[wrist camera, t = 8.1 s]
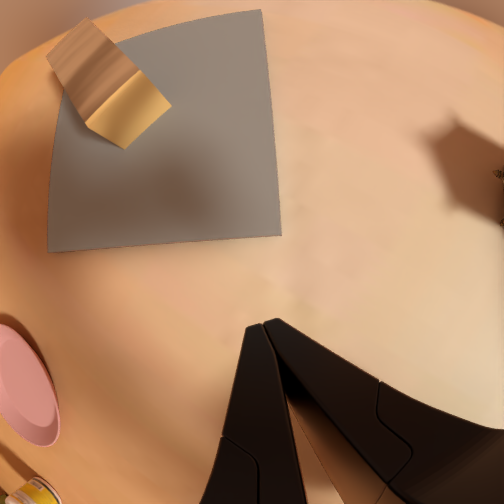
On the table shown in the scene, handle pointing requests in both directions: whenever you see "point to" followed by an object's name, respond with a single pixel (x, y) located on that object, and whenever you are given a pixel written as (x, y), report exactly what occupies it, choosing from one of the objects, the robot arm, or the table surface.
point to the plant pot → (3, 499)
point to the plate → (27, 391)
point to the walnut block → (105, 85)
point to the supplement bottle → (34, 493)
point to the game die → (500, 174)
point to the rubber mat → (176, 147)
